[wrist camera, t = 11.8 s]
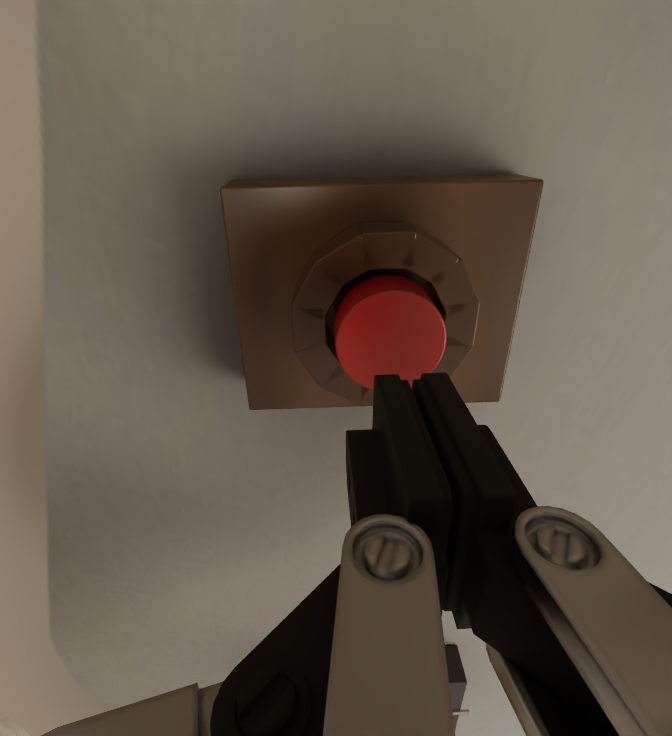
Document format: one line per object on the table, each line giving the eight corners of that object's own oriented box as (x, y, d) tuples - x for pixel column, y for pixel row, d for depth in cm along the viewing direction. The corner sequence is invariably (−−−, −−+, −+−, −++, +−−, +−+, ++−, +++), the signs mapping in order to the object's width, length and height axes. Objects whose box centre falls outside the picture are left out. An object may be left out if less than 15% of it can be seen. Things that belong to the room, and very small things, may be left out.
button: (334, 369, 16) (336, 393, 15) (332, 275, 14) (334, 292, 13) (429, 366, 16) (441, 390, 15) (438, 272, 14) (453, 289, 13)
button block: (255, 384, 20) (242, 436, 17) (230, 180, 16) (206, 192, 13) (483, 377, 21) (517, 426, 17) (518, 174, 16) (573, 185, 13)
